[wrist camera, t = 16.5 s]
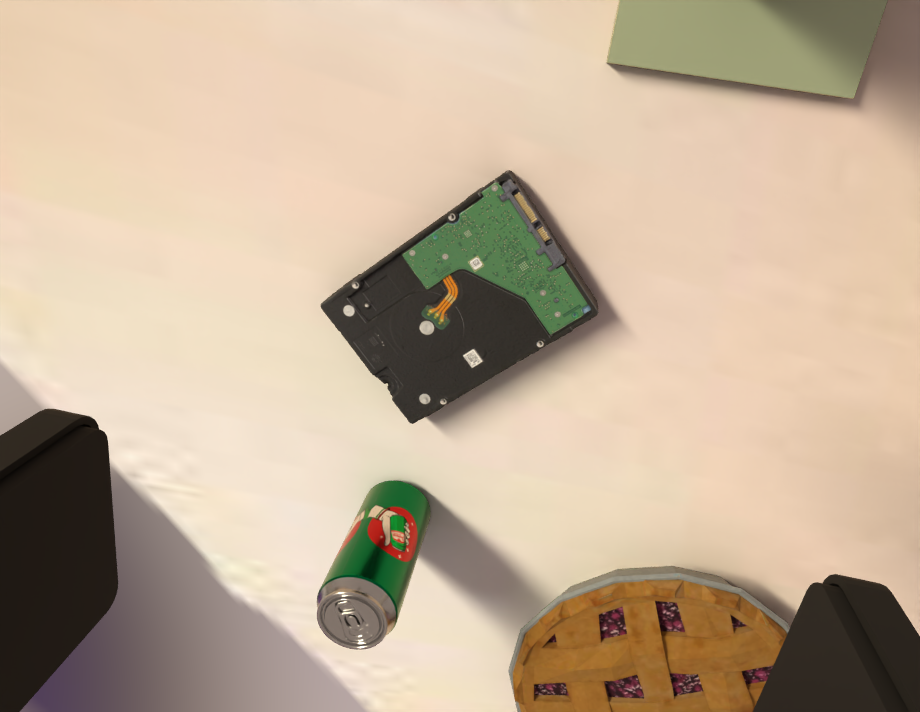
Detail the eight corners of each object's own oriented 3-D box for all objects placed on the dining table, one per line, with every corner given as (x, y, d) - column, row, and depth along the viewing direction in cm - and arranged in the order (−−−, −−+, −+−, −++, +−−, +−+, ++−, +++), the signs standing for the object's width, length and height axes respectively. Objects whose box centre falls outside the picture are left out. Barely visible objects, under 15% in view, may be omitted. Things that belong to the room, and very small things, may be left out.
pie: (473, 578, 52) (464, 625, 48) (765, 516, 46) (787, 563, 42) (561, 773, 59) (561, 832, 54) (827, 740, 53) (851, 802, 48)
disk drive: (421, 409, 48) (601, 300, 43) (413, 428, 45) (602, 314, 40) (330, 294, 45) (508, 163, 40) (316, 307, 43) (504, 169, 38)
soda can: (382, 538, 52) (331, 660, 41) (356, 484, 50) (296, 596, 39) (442, 525, 50) (406, 647, 39) (417, 469, 49) (373, 580, 38)
